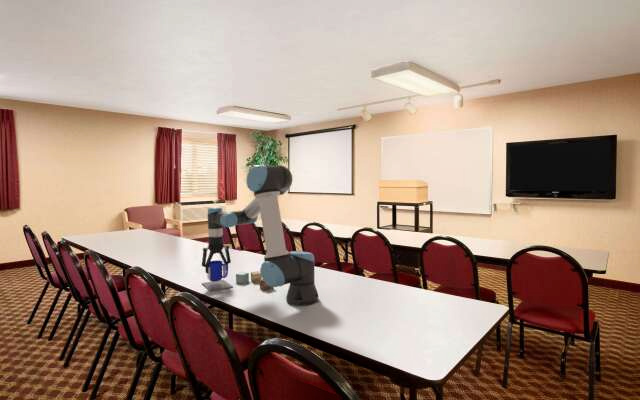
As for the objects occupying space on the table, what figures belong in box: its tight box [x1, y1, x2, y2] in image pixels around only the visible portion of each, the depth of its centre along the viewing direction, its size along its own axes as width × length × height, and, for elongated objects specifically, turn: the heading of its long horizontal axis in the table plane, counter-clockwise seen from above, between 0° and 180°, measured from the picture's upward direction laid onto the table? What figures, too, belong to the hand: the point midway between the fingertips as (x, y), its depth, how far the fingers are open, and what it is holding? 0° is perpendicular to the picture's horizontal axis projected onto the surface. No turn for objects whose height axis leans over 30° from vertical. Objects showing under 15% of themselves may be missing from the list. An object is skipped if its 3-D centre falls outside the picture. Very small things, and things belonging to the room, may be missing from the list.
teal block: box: [235, 271, 250, 285], centre depth 201 cm, size 5×5×5 cm
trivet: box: [201, 279, 234, 293], centre depth 194 cm, size 16×12×1 cm
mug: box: [209, 260, 229, 282], centre depth 194 cm, size 8×12×10 cm
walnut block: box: [259, 279, 274, 291], centre depth 188 cm, size 5×5×5 cm
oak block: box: [250, 270, 262, 284], centre depth 202 cm, size 5×5×5 cm
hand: (216, 277), depth 194 cm, fingers closed on mug, 8 cm apart
